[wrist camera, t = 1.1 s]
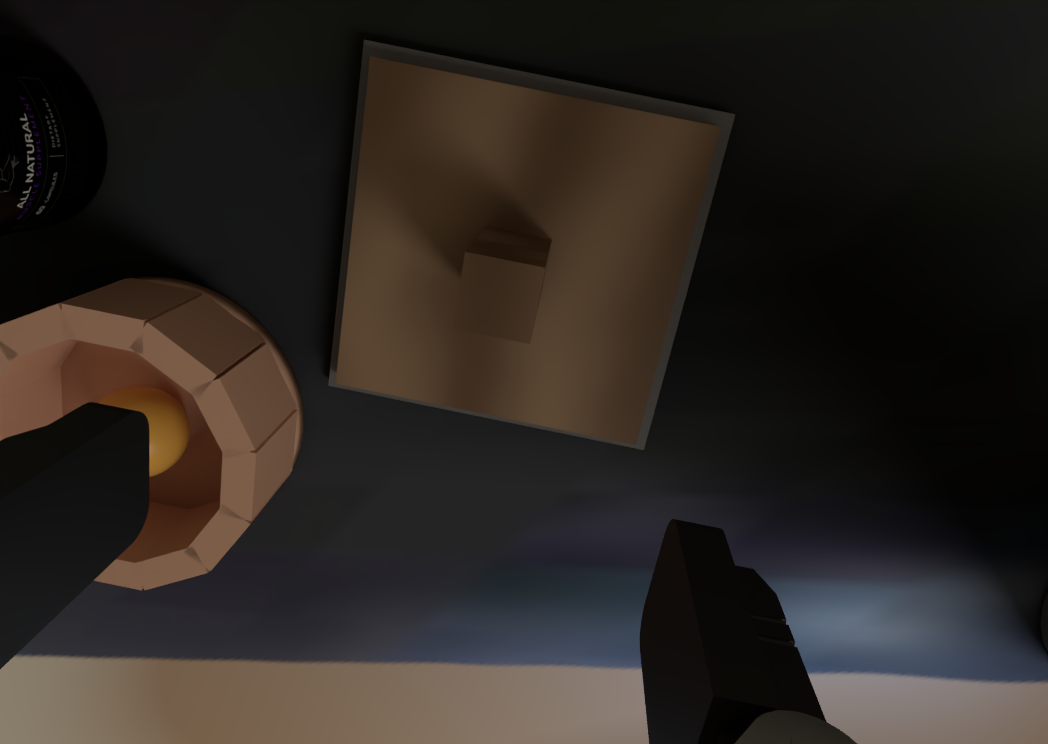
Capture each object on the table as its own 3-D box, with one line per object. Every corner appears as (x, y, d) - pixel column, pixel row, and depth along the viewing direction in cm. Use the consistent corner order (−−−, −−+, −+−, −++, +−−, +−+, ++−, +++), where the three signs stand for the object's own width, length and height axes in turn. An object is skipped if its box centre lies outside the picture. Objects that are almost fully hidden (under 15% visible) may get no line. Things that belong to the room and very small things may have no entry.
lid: (716, 126, 25) (753, 131, 20) (634, 436, 29) (646, 510, 24) (376, 57, 25) (319, 44, 20) (341, 376, 30) (287, 436, 24)
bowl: (314, 306, 29) (263, 344, 25) (293, 540, 33) (245, 611, 28) (44, 251, 29) (-59, 279, 25) (54, 491, 33) (-34, 554, 28)
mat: (732, 114, 26) (735, 114, 25) (642, 444, 30) (643, 450, 30) (367, 40, 26) (363, 39, 25) (332, 381, 30) (328, 385, 30)
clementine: (208, 382, 30) (160, 417, 26) (205, 461, 31) (158, 504, 27) (120, 364, 30) (61, 397, 26) (121, 443, 31) (64, 485, 27)
